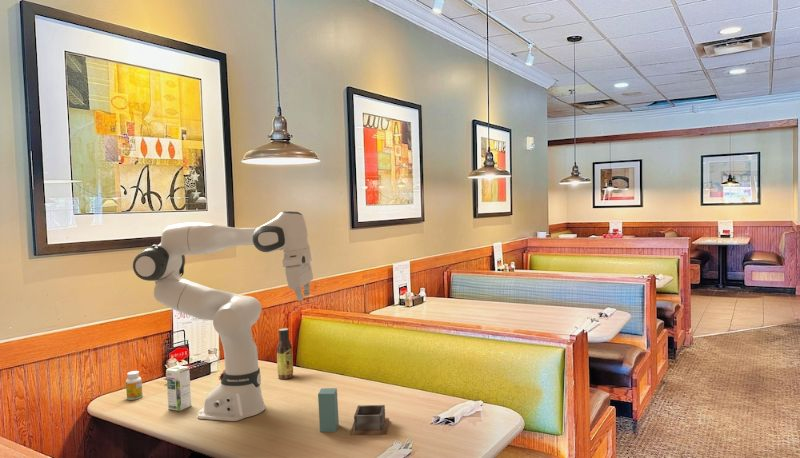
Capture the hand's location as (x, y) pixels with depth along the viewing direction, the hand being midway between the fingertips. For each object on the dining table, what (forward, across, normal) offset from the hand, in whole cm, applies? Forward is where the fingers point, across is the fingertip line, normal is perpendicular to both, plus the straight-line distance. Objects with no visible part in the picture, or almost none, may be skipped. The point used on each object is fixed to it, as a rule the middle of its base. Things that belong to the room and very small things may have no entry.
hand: (304, 297), depth 187 cm
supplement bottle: (+32, -15, -75) cm, 83 cm away
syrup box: (+34, -4, -52) cm, 62 cm away
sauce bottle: (+37, -35, -22) cm, 55 cm away
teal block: (+40, +16, +6) cm, 43 cm away
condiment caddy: (+41, +16, +19) cm, 48 cm away
